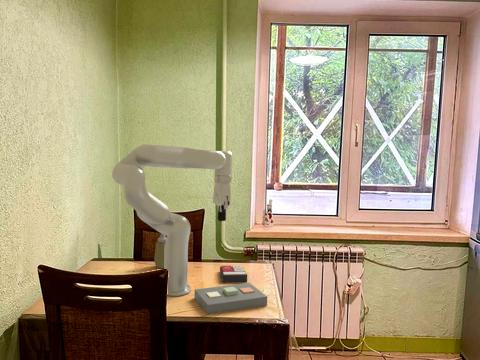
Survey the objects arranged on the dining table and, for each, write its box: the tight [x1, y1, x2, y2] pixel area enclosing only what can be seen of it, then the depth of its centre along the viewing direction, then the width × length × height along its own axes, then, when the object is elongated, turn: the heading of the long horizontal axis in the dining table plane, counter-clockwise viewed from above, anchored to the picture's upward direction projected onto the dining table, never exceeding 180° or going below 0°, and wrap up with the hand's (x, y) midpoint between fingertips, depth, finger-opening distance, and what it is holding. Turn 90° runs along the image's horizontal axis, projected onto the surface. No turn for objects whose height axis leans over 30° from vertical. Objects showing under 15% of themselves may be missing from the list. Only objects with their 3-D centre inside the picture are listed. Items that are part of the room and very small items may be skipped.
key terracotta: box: [239, 287, 254, 294], centre depth 163 cm, size 4×4×2 cm
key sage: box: [223, 287, 238, 296], centre depth 160 cm, size 4×4×2 cm
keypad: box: [194, 282, 268, 315], centre depth 160 cm, size 24×16×4 cm, turn 114°
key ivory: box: [206, 291, 221, 298], centre depth 157 cm, size 4×4×2 cm
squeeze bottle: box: [153, 233, 167, 270], centre depth 199 cm, size 8×8×18 cm
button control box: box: [219, 264, 248, 284], centre depth 189 cm, size 11×4×15 cm
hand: (221, 220), depth 181 cm, fingers closed
